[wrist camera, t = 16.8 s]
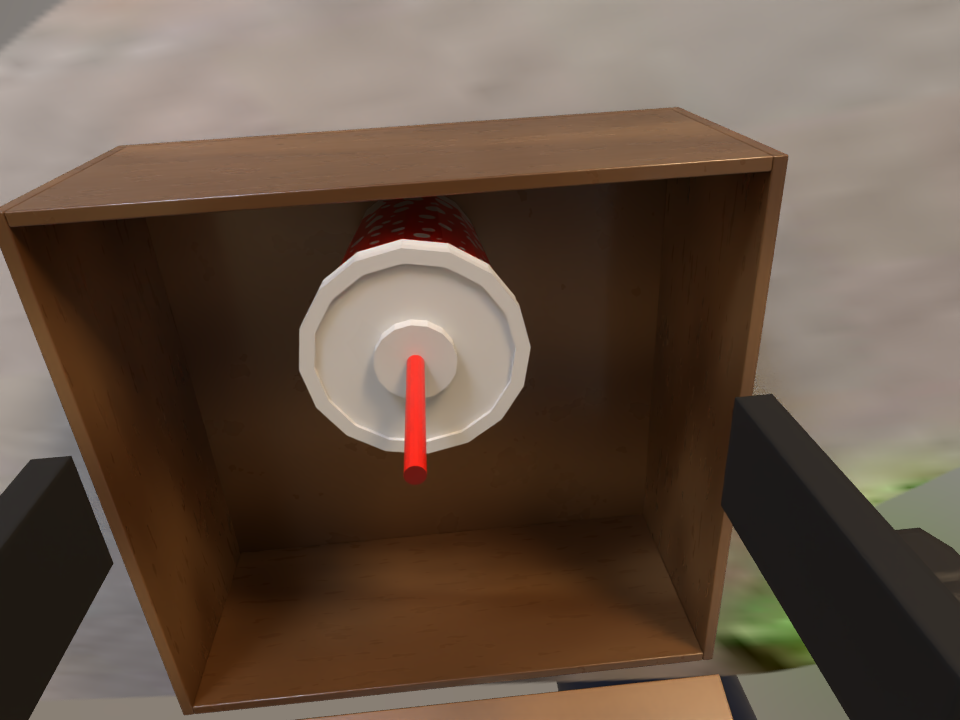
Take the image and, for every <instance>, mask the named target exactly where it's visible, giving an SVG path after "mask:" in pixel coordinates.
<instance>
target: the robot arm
mask: <svg viewBox="0 0 960 720" xmlns="http://www.w3.org/2000/svg"><path fill="white" fill-rule="evenodd" d="M721 507H722V508H723V510H724V512H725V513H726V515H727V516H728V518H729V520H730V521H731V523H732V525H733V526H734V528H735V530H736V531H737V533H738V535H739V536H740V538H741V540H742V541H743V543H744V545H745V546H746V548H747V550H748V551H749V553H750V555H751V556H752V558H753V560H754V561H755V563H756V565H757V566H758V568H759V570H760V571H761V573H762V575H763V576H764V578H765V580H766V581H767V583H768V585H769V586H770V588H771V590H772V591H773V593H774V595H775V596H776V598H777V600H778V601H779V603H780V605H781V606H782V608H783V610H784V611H785V613H786V614H787V616H788V618H789V619H790V621H791V623H792V624H793V626H794V628H795V629H796V631H797V633H798V634H799V636H800V638H801V639H802V641H803V643H804V644H805V646H806V648H807V649H808V651H809V653H810V654H811V656H812V658H813V659H814V661H815V663H816V664H817V666H818V668H819V669H820V671H821V673H822V674H823V676H824V678H825V679H826V681H827V683H828V684H829V686H830V687H831V689H832V691H833V692H834V694H835V696H836V697H837V699H838V701H839V703H840V704H841V706H842V707H843V709H844V711H845V713H846V714H847V716H848V717H849V719H850V720H960V555H959V554H958V553H957V552H956V551H955V550H954V549H953V548H952V547H950V546H949V545H947V544H945V543H944V542H942V541H940V540H939V539H937V538H936V537H934V536H932V535H931V534H929V533H927V532H926V531H924V530H922V529H921V528H912V529H901V530H894V529H893V527H891V525H890V524H889V523H888V522H887V521H886V520H885V519H884V518H883V517H882V515H881V514H880V513H879V512H878V511H877V510H876V509H875V508H874V506H873V505H872V504H871V503H870V502H869V501H868V500H867V499H866V498H865V496H864V495H863V494H862V493H861V492H860V491H859V490H858V489H857V488H856V486H855V485H854V484H853V483H852V482H851V481H850V480H849V479H848V478H847V477H846V475H845V474H844V473H843V472H842V471H841V470H840V469H839V468H838V467H837V465H836V464H835V463H834V462H833V461H832V460H831V459H830V458H829V457H828V456H827V454H826V453H825V452H824V451H823V450H822V449H821V448H820V447H819V446H818V444H817V443H816V442H815V441H814V440H813V439H812V438H811V437H810V436H809V434H808V433H807V432H806V431H805V430H804V429H803V428H802V427H801V426H800V425H799V423H798V422H797V421H796V420H795V419H794V418H793V417H792V416H791V415H790V413H789V412H788V411H787V410H786V409H785V408H784V407H783V406H782V405H781V404H780V402H779V401H778V400H777V399H776V398H775V397H774V396H773V395H772V394H767V395H756V396H744V397H735V401H734V408H733V416H732V424H731V431H730V439H729V446H728V454H727V461H726V469H725V477H724V484H723V492H722V499H721ZM112 565H113V561H112V558H111V556H110V553H109V551H108V548H107V546H106V543H105V541H104V538H103V535H102V533H101V530H100V528H99V525H98V523H97V520H96V518H95V515H94V513H93V510H92V507H91V505H90V502H89V500H88V497H87V495H86V492H85V490H84V487H83V484H82V482H81V479H80V477H79V474H78V472H77V469H76V467H75V464H74V462H73V459H72V456H66V457H55V458H43V459H32V460H30V461H29V462H28V464H27V465H26V466H25V467H24V468H23V469H22V471H21V472H20V473H19V474H18V475H17V477H16V478H15V479H14V480H13V481H12V482H11V484H10V485H9V486H8V487H7V488H6V489H5V491H4V492H3V493H2V494H1V495H0V720H28V719H29V718H30V716H31V714H32V712H33V710H34V709H35V706H36V705H37V703H38V701H39V699H40V697H41V696H42V694H43V692H44V690H45V688H46V686H47V685H48V683H49V681H50V679H51V677H52V675H53V674H54V672H55V670H56V668H57V666H58V664H59V662H60V661H61V659H62V657H63V655H64V653H65V651H66V650H67V648H68V646H69V644H70V642H71V640H72V639H73V637H74V635H75V633H76V631H77V629H78V628H79V626H80V624H81V622H82V620H83V618H84V616H85V615H86V613H87V611H88V609H89V607H90V605H91V604H92V602H93V600H94V598H95V596H96V594H97V593H98V591H99V589H100V587H101V585H102V583H103V581H104V580H105V578H106V576H107V574H108V572H109V570H110V569H111V567H112Z"/></svg>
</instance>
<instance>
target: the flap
mask: <svg viewBox="0 0 960 720" xmlns="http://www.w3.org/2000/svg"><path fill="white" fill-rule="evenodd" d="M297 720H733V717H732V714H731V711H730V708H729V704H728V701H727V698H726V695H725V692H724V688H723V685H722V682H721V679H720V675H719V674H716V675H707V676H697V677H688V678H679V679H669V680H660V681H651V682H641V683H632V684H623V685H613V686H604V687H595V688H586V689H576V690H567V691H558V692H549V693H540V694H530V695H521V696H511V697H503V698H492V699H483V700H474V701H465V702H455V703H446V704H437V705H427V706H418V707H409V708H400V709H390V710H381V711H372V712H362V713H353V714H345V715H344V714H343V715H334V716H325V717H316V718H306V719H297Z"/></svg>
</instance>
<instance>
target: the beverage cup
mask: <svg viewBox="0 0 960 720" xmlns="http://www.w3.org/2000/svg"><path fill="white" fill-rule="evenodd" d="M530 348H531V347H530V343H529V339H528V336H527V332H526V328H525V324H524V321H523V317H522V313H521V310H520V306H519V303H518V302H517V301H516V298H515V296H514V294H513V293H512V292H511V291H510V290H509V288H508V287H507V286H506V285H505V284H504V282H503V281H502V280H501V279H500V278H499V276H498V275H497V274H496V273H495V271H494V270H493V269H492V267H491V265H490V262H489V260H488V258H487V256H486V254H485V252H484V249H483V247H482V245H481V243H480V241H479V239H478V236H477V234H476V232H475V230H474V228H473V225H472V223H471V221H470V220H469V218H468V217H467V216H466V215H465V214H464V212H463V211H462V210H461V209H460V207H459V206H458V205H457V204H456V203H455V202H454V201H452V200H450V199H448V198H447V197H445V196H430V197H417V198H403V199H390V200H378V201H377V202H376V203H375V204H373V205H372V206H371V207H370V208H369V209H367V210H366V212H365V214H364V216H363V218H362V220H361V222H360V224H359V226H358V228H357V230H356V232H355V235H354V237H353V239H352V241H351V243H350V245H349V247H348V249H347V251H346V253H345V256H344V258H343V260H342V262H341V264H340V266H339V268H337V269H336V270H335V271H334V272H332V273H331V274H330V275H329V276H327V277H326V278H325V279H324V280H323V282H322V284H321V286H320V287H319V290H318V292H317V294H316V296H315V298H314V300H313V302H312V304H311V306H310V308H309V310H308V312H307V314H306V316H305V318H304V320H303V322H302V324H301V326H300V329H299V371H300V373H301V376H302V378H303V380H304V382H305V384H306V386H307V389H308V391H309V393H310V395H311V397H312V399H313V402H314V404H315V406H316V408H317V409H318V410H320V411H321V412H322V413H323V414H324V415H325V416H326V417H327V418H328V419H329V420H330V421H332V422H333V423H334V424H335V425H336V426H337V427H338V428H339V429H340V430H341V431H342V432H344V433H345V434H346V435H347V436H350V437H352V438H354V439H357V440H359V441H362V442H364V443H367V444H369V445H372V446H374V447H377V448H379V449H382V450H384V451H392V452H404V474H403V477H404V479H405V481H406V482H407V483H409V484H412V485H418V484H421V483H422V482H424V481H425V479H426V478H427V453H432V452H435V451H439V450H443V449H446V448H450V447H454V446H457V445H461V444H465V443H468V442H470V441H471V440H473V439H474V438H475V437H477V436H478V435H480V434H481V433H483V432H484V431H485V430H487V429H488V428H490V427H491V426H493V425H494V424H496V423H497V422H498V421H500V420H501V419H502V418H503V417H504V415H505V414H506V412H507V411H508V409H509V408H510V406H511V405H512V403H513V402H514V400H515V399H516V397H517V396H518V394H519V393H520V391H521V390H522V388H523V387H524V382H525V377H526V371H527V365H528V360H529V354H530Z"/></svg>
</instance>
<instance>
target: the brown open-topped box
mask: <svg viewBox="0 0 960 720" xmlns="http://www.w3.org/2000/svg"><path fill="white" fill-rule="evenodd" d="M787 162H788V155H787V154H785V153H782V152H780V151H778V150H775V149H773V148H771V147H769V146H766V145H764V144H762V143H759V142H757V141H755V140H753V139H750V138H748V137H746V136H743V135H741V134H739V133H737V132H734V131H732V130H730V129H727V128H725V127H723V126H720V125H718V124H716V123H714V122H711V121H709V120H707V119H704V118H702V117H700V116H698V115H695V114H693V113H691V112H688V111H686V110H684V109H682V108H679V107H674V108H659V109H645V110H630V111H616V112H601V113H587V114H572V115H558V116H543V117H529V118H514V119H500V120H485V121H471V122H456V123H442V124H427V125H413V126H398V127H384V128H370V129H355V130H341V131H326V132H312V133H297V134H283V135H268V136H254V137H239V138H225V139H210V140H196V141H181V142H167V143H152V144H138V145H123V146H117V147H116V148H114V149H112V150H110V151H108V152H106V153H104V154H102V155H100V156H98V157H96V158H94V159H92V160H90V161H88V162H86V163H84V164H82V165H81V166H79V167H77V168H75V169H73V170H71V171H69V172H67V173H65V174H63V175H61V176H59V177H57V178H55V179H53V180H51V181H49V182H47V183H45V184H44V185H42V186H40V187H38V188H36V189H34V190H32V191H30V192H28V193H26V194H24V195H22V196H20V197H18V198H16V199H14V200H12V201H10V202H9V203H7V204H5V205H3V206H1V207H0V248H1V251H2V253H3V256H4V258H5V261H6V263H7V266H8V268H9V271H10V274H11V276H12V279H13V281H14V284H15V286H16V289H17V291H18V294H19V296H20V299H21V302H22V304H23V307H24V309H25V312H26V314H27V317H28V319H29V322H30V324H31V327H32V330H33V332H34V335H35V337H36V340H37V342H38V345H39V347H40V350H41V353H42V355H43V358H44V360H45V363H46V365H47V368H48V370H49V373H50V375H51V378H52V381H53V383H54V386H55V388H56V391H57V393H58V396H59V398H60V401H61V403H62V406H63V409H64V411H65V414H66V416H67V419H68V421H69V424H70V426H71V429H72V432H73V434H74V437H75V439H76V442H77V444H78V447H79V449H80V452H81V454H82V457H83V460H84V462H85V465H86V467H87V470H88V472H89V475H90V477H91V480H92V482H93V485H94V488H95V490H96V493H97V495H98V498H99V500H100V503H101V505H102V508H103V511H104V513H105V516H106V518H107V521H108V523H109V526H110V528H111V531H112V533H113V536H114V539H115V541H116V544H117V546H118V549H119V551H120V554H121V556H122V559H123V561H124V564H125V567H126V569H127V572H128V574H129V577H130V579H131V582H132V584H133V587H134V590H135V592H136V595H137V597H138V600H139V602H140V605H141V607H142V610H143V612H144V615H145V618H146V620H147V623H148V625H149V628H150V630H151V633H152V635H153V638H154V640H155V643H156V646H157V648H158V651H159V653H160V656H161V658H162V661H163V663H164V666H165V669H166V671H167V674H168V676H169V679H170V681H171V684H172V686H173V689H174V691H175V694H176V697H177V699H178V702H179V704H180V707H181V709H182V712H183V714H184V715H191V714H194V713H195V714H201V713H210V712H220V711H229V710H239V709H248V708H257V707H267V706H276V705H286V704H294V703H304V702H314V701H323V700H333V699H342V698H351V697H361V696H370V695H380V694H389V693H398V692H407V691H417V690H427V689H436V688H445V687H455V686H464V685H474V684H483V683H492V682H502V681H511V680H521V679H530V678H540V677H549V676H558V675H568V674H577V673H587V672H596V671H605V670H615V669H624V668H634V667H643V666H652V665H662V664H671V663H681V662H690V661H699V660H702V659H703V660H709V659H712V658H713V651H714V645H715V638H716V631H717V625H718V618H719V612H720V605H721V598H722V592H723V585H724V579H725V572H726V565H727V559H728V552H729V546H730V539H731V532H732V526H733V525H732V523H731V521H730V520H729V518H728V516H727V515H726V513H725V512H724V510H723V508H722V507H721V499H722V492H723V484H724V477H725V469H726V461H727V454H728V446H729V439H730V431H731V424H732V416H733V408H734V401H735V397H744V396H752V394H753V387H754V380H755V374H756V367H757V360H758V354H759V347H760V341H761V334H762V327H763V321H764V314H765V308H766V301H767V294H768V288H769V281H770V275H771V268H772V261H773V255H774V248H775V241H776V235H777V228H778V222H779V215H780V208H781V202H782V195H783V189H784V182H785V175H786V169H787ZM430 196H445V197H447V198H448V199H450V200H452V201H454V202H455V203H456V204H457V205H458V206H459V207H460V209H461V210H462V211H463V212H464V214H465V215H466V216H467V217H468V218H469V220H470V221H471V223H472V225H473V228H474V230H475V232H476V234H477V236H478V239H479V241H480V243H481V245H482V247H483V249H484V252H485V254H486V256H487V258H488V260H489V262H490V265H491V267H492V269H493V270H494V271H495V273H496V274H497V275H498V276H499V278H500V279H501V280H502V281H503V282H504V284H505V285H506V286H507V287H508V288H509V290H510V291H511V292H512V293H513V294H514V296H515V298H516V301H517V302H518V303H519V306H520V310H521V313H522V317H523V321H524V324H525V328H526V332H527V336H528V339H529V343H530V347H531V348H530V354H529V360H528V365H527V371H526V377H525V382H524V387H523V388H522V390H521V391H520V393H519V394H518V396H517V397H516V399H515V400H514V402H513V403H512V405H511V406H510V408H509V409H508V411H507V412H506V414H505V415H504V417H503V418H502V419H501V420H500V421H498V422H497V423H496V424H494V425H493V426H491V427H490V428H488V429H487V430H485V431H484V432H483V433H481V434H480V435H478V436H477V437H475V438H474V439H473V440H471V441H470V442H468V443H465V444H461V445H457V446H454V447H450V448H446V449H443V450H439V451H435V452H432V453H427V478H426V479H425V481H424V482H422V483H421V484H418V485H412V484H409V483H407V482H406V481H405V479H404V477H403V474H404V452H392V451H384V450H382V449H379V448H377V447H374V446H372V445H369V444H367V443H364V442H362V441H359V440H357V439H354V438H352V437H350V436H347V435H346V434H345V433H344V432H342V431H341V430H340V429H339V428H338V427H337V426H336V425H335V424H334V423H333V422H332V421H330V420H329V419H328V418H327V417H326V416H325V415H324V414H323V413H322V412H321V411H320V410H318V409H317V408H316V406H315V404H314V402H313V399H312V397H311V395H310V393H309V391H308V389H307V386H306V384H305V382H304V380H303V378H302V376H301V373H300V371H299V329H300V326H301V324H302V322H303V320H304V318H305V316H306V314H307V312H308V310H309V308H310V306H311V304H312V302H313V300H314V298H315V296H316V294H317V292H318V290H319V287H320V286H321V284H322V282H323V280H324V279H325V278H326V277H327V276H329V275H330V274H331V273H332V272H334V271H335V270H336V269H337V268H339V266H340V264H341V262H342V260H343V258H344V256H345V253H346V251H347V249H348V247H349V245H350V243H351V241H352V239H353V237H354V235H355V232H356V230H357V228H358V226H359V224H360V222H361V220H362V218H363V216H364V214H365V212H366V210H367V209H369V208H370V207H371V206H372V205H373V204H375V203H376V202H377V201H378V200H390V199H403V198H417V197H430Z"/></svg>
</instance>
